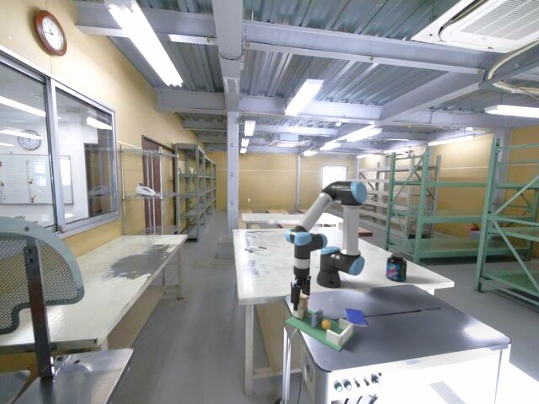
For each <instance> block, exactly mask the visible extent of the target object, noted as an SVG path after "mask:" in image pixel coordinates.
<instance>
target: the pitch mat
mask: <svg viewBox="0 0 539 404" xmlns="http://www.w3.org/2000/svg"><path fill="white" fill-rule="evenodd" d="M308 312H310V313H312V314H315V313H316V312H317V311H313V310H311V309H309V308H308ZM323 320H328V321H329V322H330V324H331V327H330V329H329V330H330V331H332V332H334V333H336V334H338V335H340V334H341V333H342V332H343V331H344V330H343V329H341V328H339V322H336V321H335V320H333V319H331V318H328V317H326V316H324V315H323ZM284 322H285V324H286V323H287V324H288V325H290V326H292V327H293V328H295V329H297V330H299V331H300V332H303V333H305V334H306V335H308V336H310V337H311V338H313V339H314V340H316V341H319V342H320V343H322V344H324V345H326V346H328V347H330V348H331V349H333V350H336V351H337V352H340V351H341V350H342V349H343V348H345V346H346V344H347V343H348V342H349V341H350V339H351V338H353V336H354V335H355V334H356V333H357V330H354V329H353V333H352V335H351V336H350V337H349V338H348V339H347V340H346V341H345V342H344V344H343V345H342V346H341V347H339V346H337V345H335V344H333V343H331V342H329V341H328V340H326V333H327V330H324V329H323V328H322V326H321V323H322V322H321V323H320V324H319V325H317V326H316V327H315V328H313V327H311V323H312V318H310V317H308V316H306V317H304V318H303V319H302V320H301V319H299V318H297V317H295V316H293V315H292V316H291V317H290V318H288V319H286V320H285V321H284Z"/></svg>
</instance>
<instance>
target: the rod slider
mask: <svg viewBox="0 0 539 404" xmlns="http://www.w3.org/2000/svg"><path fill="white" fill-rule="evenodd" d="M308 297H309V296H307V295H305V294H302V292H301V293H300V298H299V304H300V311H299V319H301V320H302V319H303V318H304V317H306V316H308V317H310V318H312V323H311V327H313V328H315V327H316V326H317V325H319V324H320V323H321V322H322V321H323V316H324V310H323V309H318V310H317V311H315V312H316V313H315V314H312V313H310V312H308V309H309V306H308V305H309V299H308ZM292 316H294V304H292Z"/></svg>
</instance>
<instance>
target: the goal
mask: <svg viewBox="0 0 539 404" xmlns="http://www.w3.org/2000/svg"><path fill="white" fill-rule="evenodd" d="M338 323H339V328H341V329H343V330H344V331H343V332H342V333H341V334H340V335H338V334H336V333H334V332H332V331H330V330H327V333H326V340H328V341H329V342H331V343H333V344H335V345H337V346H339V347H341V346H342V345H343V344H344V342H345V341H346V340H347V339H348V338H349V337H350V336H351V335H352V333H353V330H354V327H355V326H354V324H353V323H351V322H348V321H347V319H343V318H341V317H339V318H338Z"/></svg>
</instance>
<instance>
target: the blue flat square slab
mask: <svg viewBox="0 0 539 404" xmlns="http://www.w3.org/2000/svg"><path fill="white" fill-rule="evenodd" d="M344 313H345V317H347V318H346V321H348V322H351V323H353V324H354V326H353V327H363V328H368V327H369V325H368V323H367V321H366V317H365V316H364V313H363V311H362V310H361V309H355V308H347V307H345V308H344Z"/></svg>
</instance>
